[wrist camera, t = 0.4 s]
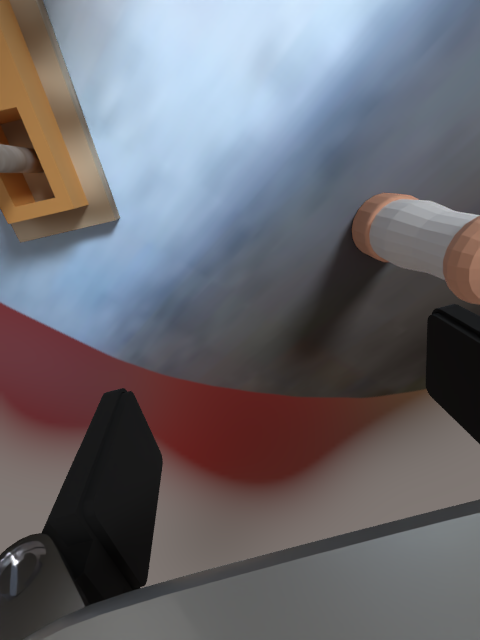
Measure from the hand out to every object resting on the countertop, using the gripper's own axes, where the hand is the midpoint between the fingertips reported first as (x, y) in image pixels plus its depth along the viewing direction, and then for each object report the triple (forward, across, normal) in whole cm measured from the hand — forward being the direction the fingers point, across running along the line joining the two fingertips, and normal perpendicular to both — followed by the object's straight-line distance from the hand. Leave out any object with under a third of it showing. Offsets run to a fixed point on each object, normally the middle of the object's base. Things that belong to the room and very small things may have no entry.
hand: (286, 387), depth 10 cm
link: (+28, +16, -14) cm, 35 cm away
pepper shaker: (+30, -18, +4) cm, 35 cm away
